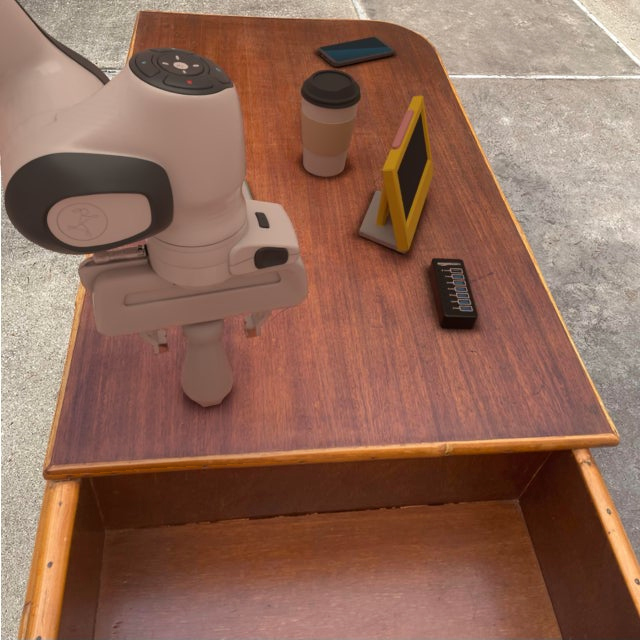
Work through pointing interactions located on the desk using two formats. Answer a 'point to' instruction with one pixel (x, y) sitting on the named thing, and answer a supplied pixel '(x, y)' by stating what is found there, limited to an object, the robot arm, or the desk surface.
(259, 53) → the desk surface
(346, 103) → the coffee cup
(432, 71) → the desk surface
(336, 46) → the smartphone
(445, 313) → the multiport hub
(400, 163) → the toy computer monitor
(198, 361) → the salt shaker
